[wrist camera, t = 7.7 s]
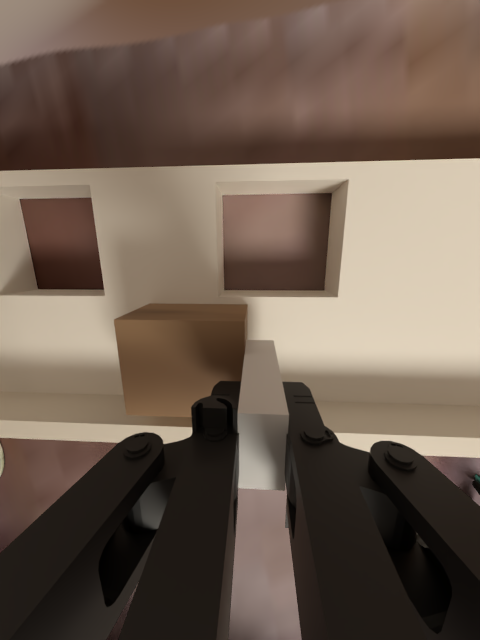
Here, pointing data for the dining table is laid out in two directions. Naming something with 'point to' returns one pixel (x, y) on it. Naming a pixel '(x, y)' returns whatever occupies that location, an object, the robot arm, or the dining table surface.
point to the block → (178, 354)
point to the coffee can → (1, 459)
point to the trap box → (259, 298)
